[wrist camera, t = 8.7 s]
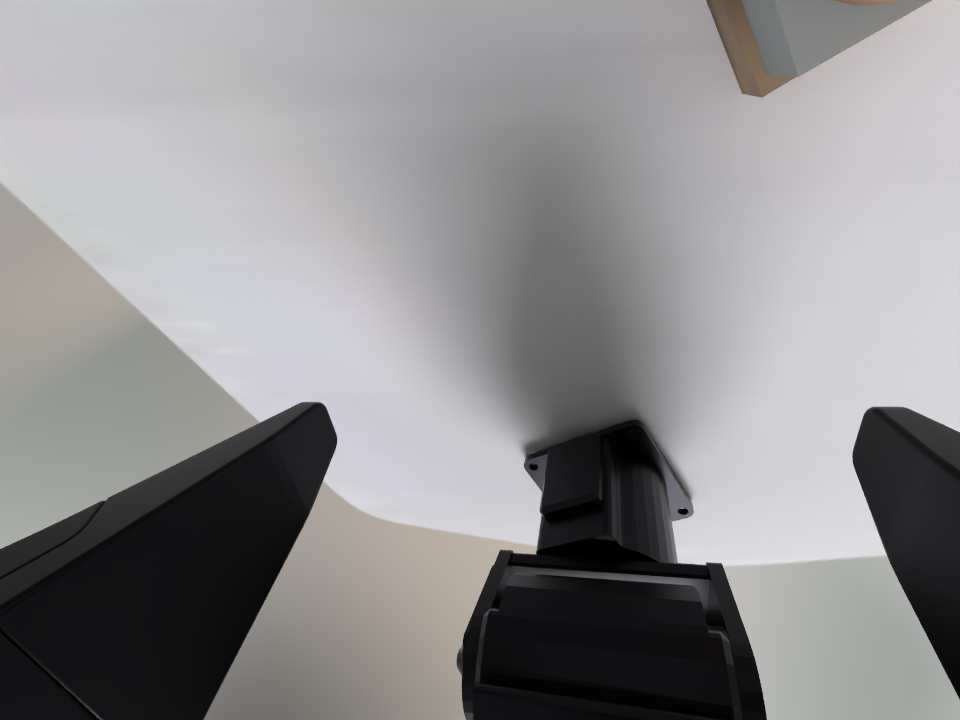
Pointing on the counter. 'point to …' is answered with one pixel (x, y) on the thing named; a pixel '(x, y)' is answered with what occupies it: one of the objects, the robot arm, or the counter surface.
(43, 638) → the robot arm
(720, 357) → the counter surface
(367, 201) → the counter surface
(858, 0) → the tan rounded lump
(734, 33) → the base slab
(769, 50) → the top slab
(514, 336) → the counter surface
